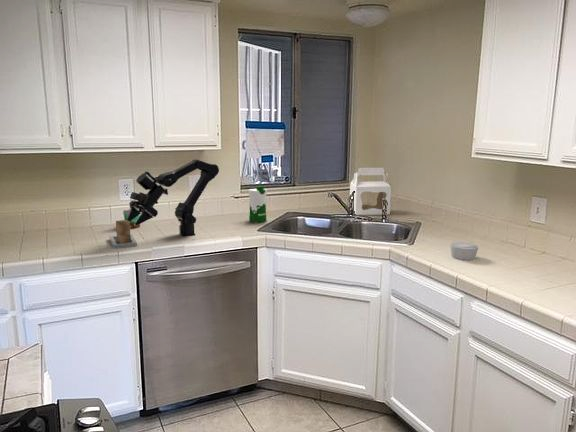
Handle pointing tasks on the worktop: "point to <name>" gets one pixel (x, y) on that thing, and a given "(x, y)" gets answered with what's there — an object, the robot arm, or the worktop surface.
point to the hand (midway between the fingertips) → (131, 223)
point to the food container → (132, 222)
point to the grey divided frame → (115, 245)
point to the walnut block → (123, 231)
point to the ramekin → (463, 250)
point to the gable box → (371, 186)
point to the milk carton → (257, 204)
